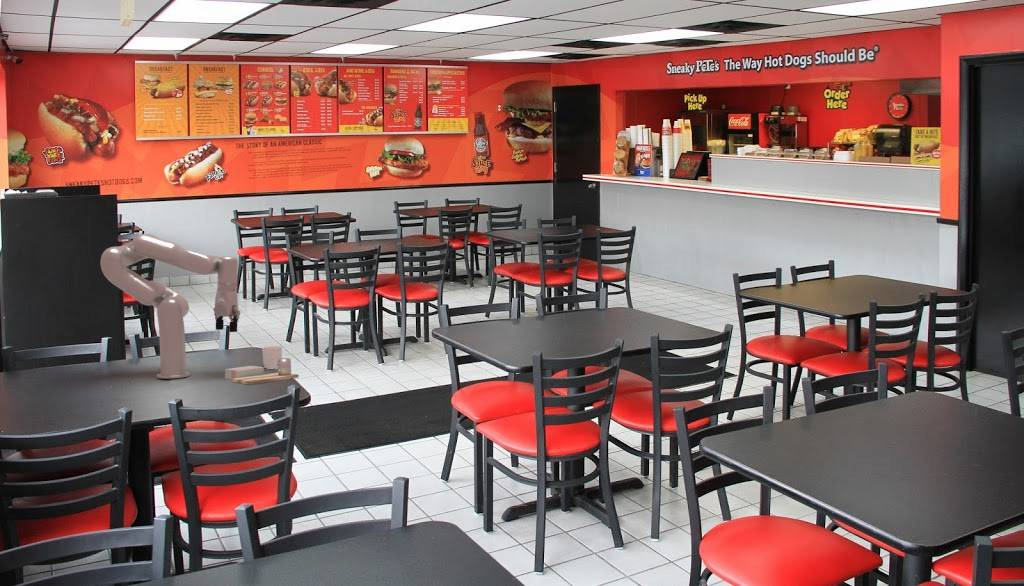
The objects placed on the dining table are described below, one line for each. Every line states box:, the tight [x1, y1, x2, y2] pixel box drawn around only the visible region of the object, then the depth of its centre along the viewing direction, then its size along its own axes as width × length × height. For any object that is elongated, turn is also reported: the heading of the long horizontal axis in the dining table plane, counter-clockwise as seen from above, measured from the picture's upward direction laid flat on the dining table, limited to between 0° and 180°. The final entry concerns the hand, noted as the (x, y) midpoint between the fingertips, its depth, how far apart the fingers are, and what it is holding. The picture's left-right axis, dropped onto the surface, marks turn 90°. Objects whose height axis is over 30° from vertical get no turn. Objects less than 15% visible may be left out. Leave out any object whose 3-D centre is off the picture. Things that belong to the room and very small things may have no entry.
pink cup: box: [261, 345, 283, 370], centre depth 401 cm, size 8×8×10 cm
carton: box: [224, 365, 265, 381], centre depth 383 cm, size 8×12×4 cm
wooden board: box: [231, 371, 299, 386], centre depth 377 cm, size 12×22×1 cm, turn 139°
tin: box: [277, 357, 292, 376], centre depth 381 cm, size 5×5×6 cm
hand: (226, 330), depth 388 cm, fingers open, 9 cm apart
